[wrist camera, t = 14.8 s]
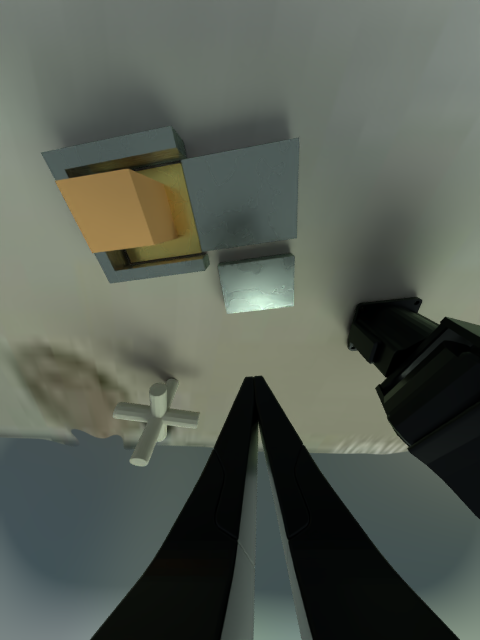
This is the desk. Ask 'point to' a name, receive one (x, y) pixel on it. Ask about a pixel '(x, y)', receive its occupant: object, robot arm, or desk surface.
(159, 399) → the pipe connector
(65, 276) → the desk surface
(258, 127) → the desk surface
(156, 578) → the robot arm
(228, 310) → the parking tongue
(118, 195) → the block
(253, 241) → the sliding lid box
